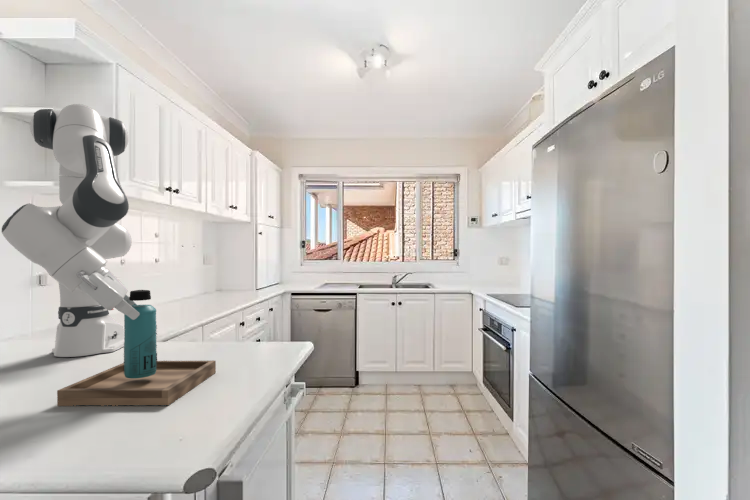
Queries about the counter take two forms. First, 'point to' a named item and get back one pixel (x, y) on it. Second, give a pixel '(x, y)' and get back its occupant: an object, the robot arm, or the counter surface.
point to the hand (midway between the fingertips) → (137, 314)
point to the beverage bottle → (140, 339)
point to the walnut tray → (137, 385)
